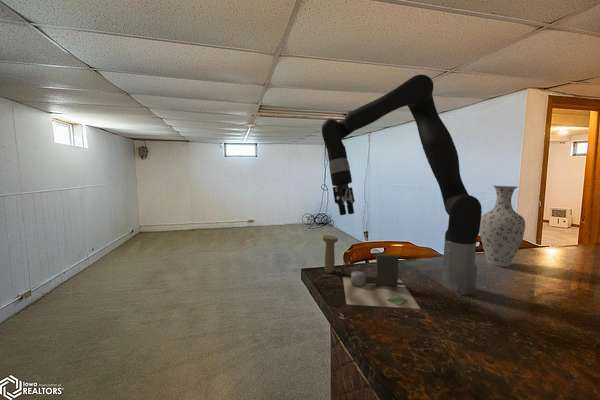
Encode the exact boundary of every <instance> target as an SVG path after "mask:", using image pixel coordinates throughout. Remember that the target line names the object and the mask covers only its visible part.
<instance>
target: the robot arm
mask: <svg viewBox="0 0 600 400" xmlns="http://www.w3.org/2000/svg"><path fill="white" fill-rule="evenodd" d="M433 92H434V82H433V80H432V78H431V77H430V76H428V75H426V74H417V75H414V76H411V77H410V78H409V79H407V80H406V81H404V82H403V83H401V84H399V86H397V87H395V88H394V89H392V90H390V91H389V92H388V93H386V94H384V95H382V96H380V97H379V98H377V99H374V100H372V101H370V102H368V103H366V104H364V105H362V106H359V107H358V108H356V109H354V110H350V112H347V113H346V115H345V117H344V118H343V119H342V120H340V121H337V120H336V119H335V118H328V119H326V120H325V121H323V123H322V126H321V136H322V139H323V142H324V145H325V148H326V151H327V157H328V165H329V167H328V168H329V174H330V179H331V185H332V186H333V187H332V192H333V199H334V203H335V204H336V205H337V206H338V211H339V215H340V216H345V215H347V214H348V215H354V214H355V209H354V203H355V196H354V191H353V190H354V189H353V187H349V184H352V183H353V179H352V173H351V169H350V162H349V160H348V154H347V149H346V146H345V145H344V143H343V141H342V140H343V139H345V138H346V137H348V136H349V135H351V134H352V133H354V132H355V131H357V130H359V129H362V128H365V127H366V126H369V125H371V124H373V123H374V122H377V121H378V120H379V119H381V118H382V117H385V116H386V115H388V114H390V113H392V112H393V111H396V110H398V109H401V108H404V107H406V106H407V107H408V109H409V111H410V113H411V115H412V117H413V119H414V121H415V124H416V127H417V130H418V135H419V141H420V143H421V146H422V149H423V152H424V155H425V158H426V160H427V162H428V164H429V166H430V169H431V172H432V174H433V176H434V177H435V180H436V181H437V184H438V187H439V190H440V193H441V197H442V201H443V205H444V210H445V212H446V214H447V215H448V225H447V229H446V231H445V233H444V243H443V244H444V246H443V247H444V248H443V261H442V262H443V263H442V272H441V273H442V275H441V277H442V278H441V285H442V286H443V287H444V288H446V289H448V290H451V291H455V292H457V293H458V294H459V296H460V295H462V296H469V295H471V294H473V295H474V294H476V283H477V274H478V266H477V265H476V263H475V261H476V249H477V241H478V239H477V238H478V237H479V236H480V223H481V216H482V215H483V214H482V213H483V211H482V204H481V202H480V200H479V199H478V198H477V197H475V196H473V195H470V194H469V193H468V191H467V188H466V187H465V185H464V183H463V179H462V176H461V170H460V160H459V153H458V151H457V147H456V145H455V143H454V140H453V137H452V135H451V133H450V131H449V129H448V127H446V125H445V123H444V122H443V121H442V119H441V117H440V115H439V113H438V111H437V108H436V104H435V101H434V97H433ZM345 203H346V205H345ZM346 208H347V211H346Z"/></svg>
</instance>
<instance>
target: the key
mask: <svg viewBox="0 0 600 400" xmlns="http://www.w3.org/2000/svg"><path fill="white" fill-rule="evenodd" d="M399 257H400V256H399V255H398V254H376V261H375V263H376V264H375V275H374V274H372V275H371V274H366V272H363V271H358V270H356V271H352V272H350V277H351V284H352V285H354V286H365V285H366V283H367V284H376V285H379V286H397V285H405V286H410V283H409V282H403V281H402V282H397V280H399V279H398V278H399V277H398V276H399Z"/></svg>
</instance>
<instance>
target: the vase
mask: <svg viewBox="0 0 600 400" xmlns="http://www.w3.org/2000/svg"><path fill="white" fill-rule="evenodd" d="M492 187H493V188H494V189H495V193H496V202H495V205H494V207H492V209H491V210H488V211H487V212H484V213H483V214H481V223H480V231H479V238H480V240H481V243H482V248H483V250H484V251H483V252H484V254H485V255H484V256H485V259H486V264H487V265H490V266H493V267H496V266H497V267H496V268H502V267H508V268H510V267H511V263H512V261H513V259H514V257H515V255H516V253H517V252H518V249H520V246H521V244H522V242H523V240H524V235H525V230H526V221H525V218H524V217H523V216H522V215H521V214H519V213H517V212H516V211H515V210H514V208H513V205H512V198H513V194H514V192H515V190H516V189H517V188H519V186H514V185H492Z"/></svg>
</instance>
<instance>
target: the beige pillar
mask: <svg viewBox="0 0 600 400" xmlns="http://www.w3.org/2000/svg"><path fill="white" fill-rule="evenodd" d="M338 239H339V238H338V236H335V235H330V234H328V235H327V234H326V235H322V240H323V242H324V243H325V249H324V270H325V273H326V274H332V273H334V271H335V270H334V269H335V258H336V257H335V243H337V242H338Z"/></svg>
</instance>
